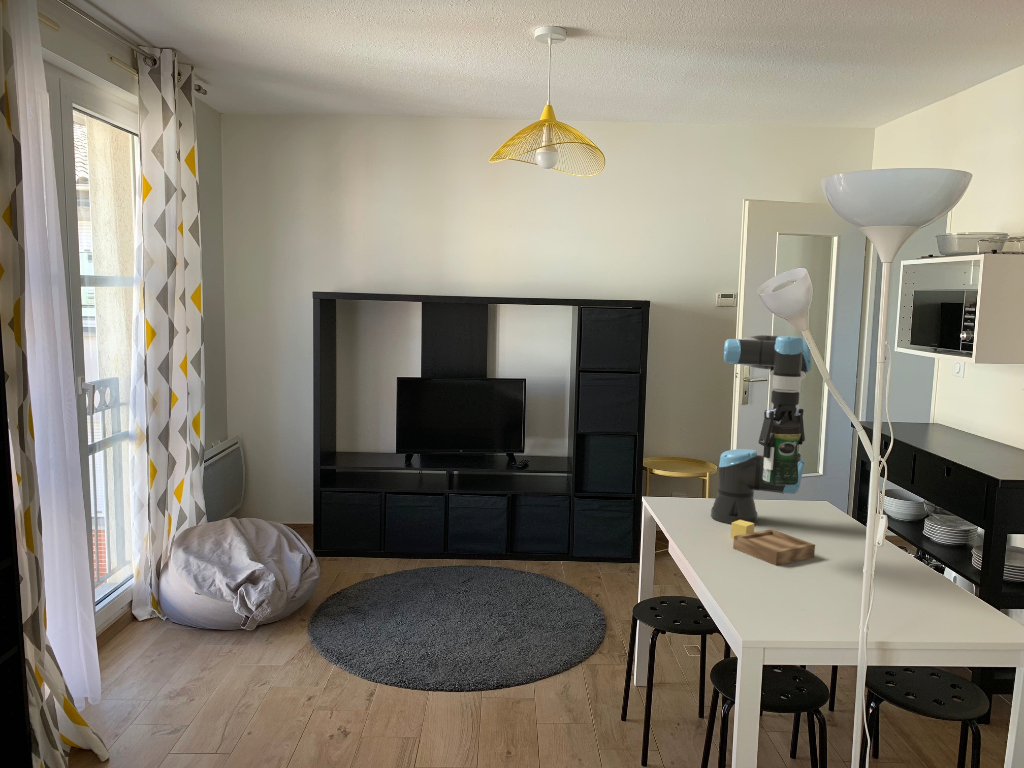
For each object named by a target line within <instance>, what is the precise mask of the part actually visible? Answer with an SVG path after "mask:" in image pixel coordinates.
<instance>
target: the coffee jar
mask: <svg viewBox="0 0 1024 768" xmlns="http://www.w3.org/2000/svg"><path fill="white" fill-rule="evenodd" d="M776 422H779V421H776V420H774V421H773V426H772V430H771V433H774V432H775V440H774V443H773V445H772V447H774V458H773V470H769V469H765V468H763V474H762V479H763V481H764V482H765V483H770V484H773V485H795V484H797V483H798V461H797V448H798V441H799V439H800V436H801V429H800V423H799V422H797V421H792V420H788V421H785V422H784V423H783V424H781V425H779V424H777V423H776Z"/></svg>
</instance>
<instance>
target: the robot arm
mask: <svg viewBox="0 0 1024 768" xmlns="http://www.w3.org/2000/svg"><path fill="white" fill-rule="evenodd" d="M804 338H805V337H801V336H796V335H793V336H791V335H790V336H789V335H765V334H763V335H762V334H761V335H752V336H747V337H744V338H743V337H742V338H728V339H726V340H725V341H724V347H723V348H724V350H723V361H724V363H726V364H731V365H743V366H747V367H752V368H756V369H761V370H762V369H763V370H769V375H770V376H771V377H772V387H771V388H772V389H773V390H772V391H771V396H770V397H771V398H770V402H771V410H770V409H765V410H764V412H763V413H764V415H763V416H764V419H763V422H762V427H761V430H760V434H759V440H758V444H760V445H761V446H762V447H763V455H761V454H760V455H758V452H757V451H756V450H755V449H748V448H736V449H729V450H726V451H723V452H722V453H721V454H720V456H719V457H720V459H719V465H718V468H719V470H718V471H719V472H718V483H717V484H718V485H717V495H716V497H715V500H714V503H713V506H712V507H711V510H710V517H711V519H713V520H715V521H718V522H721V523H726V524H730V525H732V522H735V521H738V520H743V521H747V522H751V523H755V524H756V523H757V522H758V519H759V518H758V517H759V516H758V515H759V514H758V512H757V509H756V505H755V504H756V503H755V498H754V494H755V491H759V492H768V493H776V494H782V495H784V494H786V495H787V494H788V495H795V494H797V493H798V492H800V488H801V487H800V486H801V482H802V478H803V477H802V476H803V472H804V467H805V463H806V460H805V459H803V458H801V457H802V454H801V452H800V451H799V449H800V446H802V445H803V443H804V442H805V441H806V436H805V428H804V427H805V426H804V411H805V410H804V409H803V408H800V398H801V397H800V396H801V384H802V380H803V379H805V378H806V376H807V373H809V372H811V370H812V361H811V359H812V356H811V354H812V353H811V348H810V349H809V347H808V345H807V343H806V341H805V339H804ZM774 420H776V421H779V422H776V423H777V424H779V425H781V424H783V423H784V422H785V421H788V420H792V421H797V422H799V423H800V429H801V436H800V439H799V441H798V448H797V461H798V483H797V484H795V485H773V484H770V483H765V482H764V481H763V479H762V474H763V468H765V469H769V470H773V458H774V447H772V445H773V443H774V440H775V432H774V433H771V430H772V426H773V421H774Z"/></svg>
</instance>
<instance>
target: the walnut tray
mask: <svg viewBox="0 0 1024 768" xmlns="http://www.w3.org/2000/svg"><path fill="white" fill-rule="evenodd" d="M732 543H733V547H732V548H733V549H734V550H737V551H738V552H741V553H743V554H746V555H749V556H752V557H753V558H756V559H759V560H760V561H761V560H762V561H764V562H766V563H769V564H771V565H773V566H779V565H784V564H785V565H786V564H789V563H793V562H798V561H803V560H808V559H812V558H815V551H816V544H815V543H812V542H809V541H806V540H803V539H801V538H797V537H794V536H792V535H789V534H787V533H785V532H781V531H778V530H775V529H772V528H771V529H766V530H761V531H760V530H759V531H754V533H748V534H742V535H737V536H734V539H733V542H732Z"/></svg>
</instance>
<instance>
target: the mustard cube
mask: <svg viewBox="0 0 1024 768" xmlns="http://www.w3.org/2000/svg"><path fill="white" fill-rule="evenodd" d="M755 524H756V523H751V522H747V521H743V520H738V521H735V522H732V524H731V526H730V528H731V529H730V539H732V540H734V536H737V535H742V534H748V533H754V532H755Z"/></svg>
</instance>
